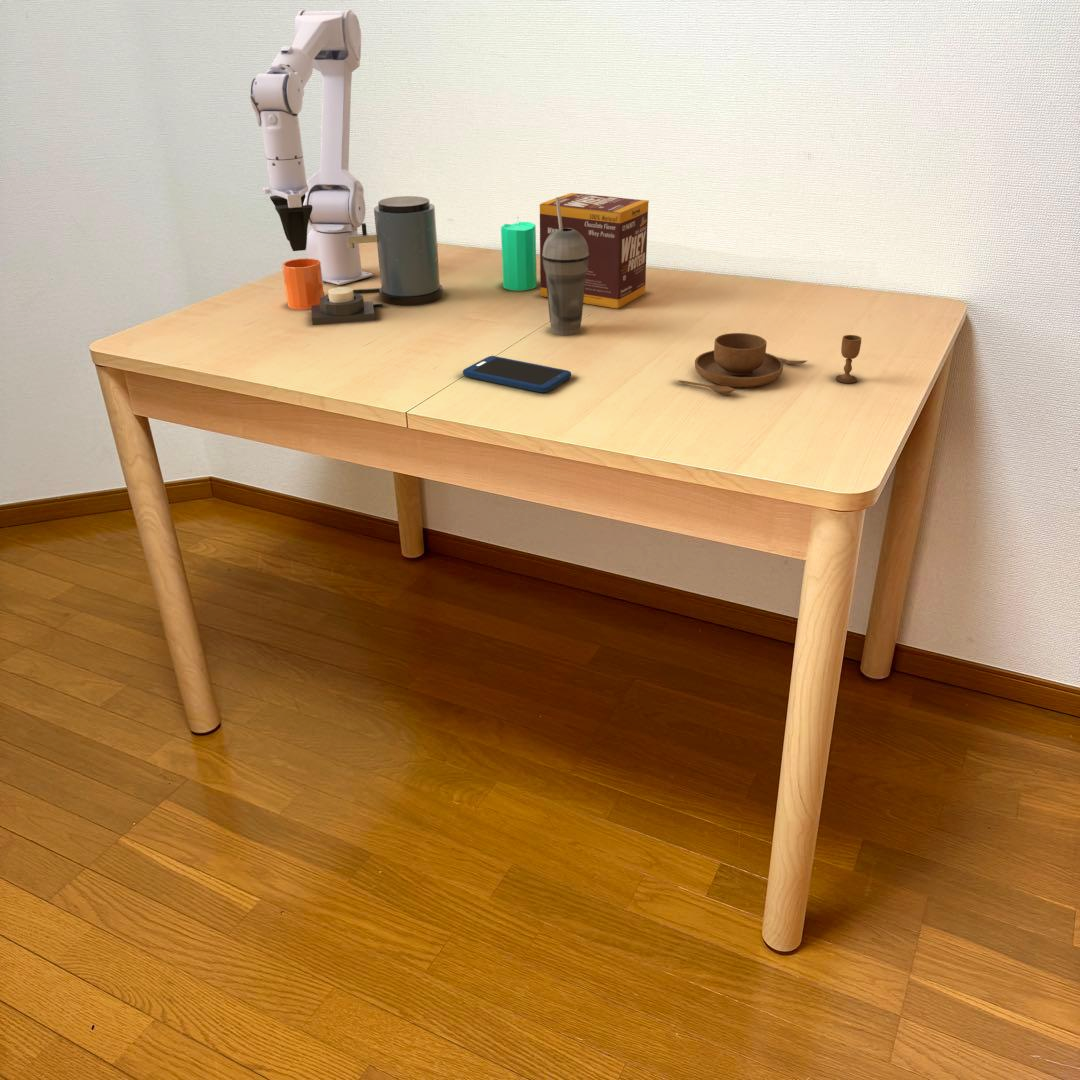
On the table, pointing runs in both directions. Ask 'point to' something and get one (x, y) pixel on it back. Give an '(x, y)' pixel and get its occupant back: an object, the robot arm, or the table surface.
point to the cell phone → (517, 374)
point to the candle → (519, 256)
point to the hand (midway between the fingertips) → (296, 244)
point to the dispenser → (404, 251)
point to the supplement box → (603, 244)
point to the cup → (303, 283)
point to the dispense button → (341, 294)
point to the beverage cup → (565, 277)
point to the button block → (342, 311)
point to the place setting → (755, 362)
